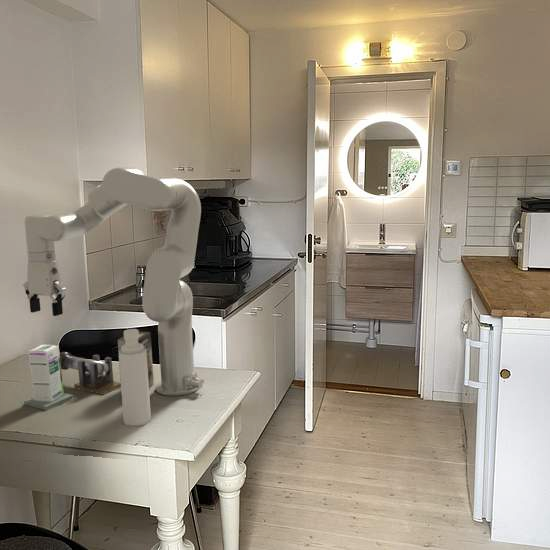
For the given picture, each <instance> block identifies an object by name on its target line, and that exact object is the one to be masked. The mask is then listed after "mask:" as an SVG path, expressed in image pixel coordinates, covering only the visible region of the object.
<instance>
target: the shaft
mask: <svg viewBox="0 0 550 550" xmlns="http://www.w3.org/2000/svg"><path fill="white" fill-rule="evenodd" d="M59 354H60V363H61V370H63V371H64V370H65V371H66V370H69V369H72V370H76V371H78V361H80V360H83V361H85V370H86V373H89V372H90V363H97V371H98V374H99V375H105V374H106V373H107V372H108V369H109V367H108V364H107V363H105V362H102V361H100V362H98V361H93V359H89V358H88V359H87V358H84V357H77V356H74V355H73V354H72V353H70V352H67V351H62V352H59Z"/></svg>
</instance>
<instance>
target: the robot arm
mask: <svg viewBox="0 0 550 550" xmlns="http://www.w3.org/2000/svg"><path fill="white" fill-rule="evenodd" d="M87 199H88V200H87V201H88V202H87V203H86V204H84V205H82V206H81V207H80V208H78V209H76V210H75V211H72V212H68V213H61V214H54V215H53V214H52V215H49V214H31V215H27V216H25V218H24V229H25V243H26V251H27V261H28V262H27V276H26V277H27V281H26V282H24V283H23V285H22V286H23V288H24V292H25V294H26V295H27V299H28V300H29V311H30V313H37V312H40V311H41V300H40V297H39V296H44V297H50V299H51V300H52V302H51V309H52V316H53V317H56V316H57V317H58V316H61V315H63V314H64V313H63V311H64V310H63V302H64V298H65V297H66V293H67V287H66V286H64V285H63V280H62V275H61V274H62V273H61V270H60V267H59V262H58V261H56V249H55V248H56V247H55V242H63V241H67V240H72V239H76V238H77V239H78V238H80V237H83V236H84V235H86V234H88V233H89V232H91V231H93V230H94V229H97V228H98V227H99V226H101V225H102V224H103V223H104V222H105V221H106V220H107V219H108V218H109V217H110V216H112V215H113V214H115V213H116V212H118V211H120V210H121V209H123V208H125V207H127V206H128V205H131V206H134V207H137V208H141V209H144V210H148V211H153V212H162V211H169V210H170V211H171V214H170V218H169V221H168V224H167V227H166V234H165V235H166V236H165V242H164V245H163V246H162V247H159V248H157V249H155V250H154V251H153V252H152V253H151V255H150V257H149V259H148V261H147V264H146V269H145V276H144V283H143V289H142V290H143V291H142V309H143V312H144V314H145V316H146V317H147V318H148V319H150V321H152V322H155V323H157V336H158V350H159V352H158V353H159V354H158V355H159V364H160V365H159V367H160V369H159V370H160V381H159V382H158V383H156V386H155V390H156V392H157V393H159V394H161V395H163V396H164V395H165V396H173V397H174V396H176V397H177V396H185V395H189V394H193V393H194V392H196V391H197V390H199V389H202V388H203V385H204V383H205V379H203V378H198V372H195V364H194V363H195V362H194V346H193V344H194V342H193V307H194V296H193V291H192V288H191V287H190V286H189V285H188V284H187V282H185V281H183V280H181V279H182V278H183V277H185V276H187V275H189V274H190V273H191V272H192V270H193V268H194V265H195V260H196V259H195V258H196V251H197V244H198V237H199V229H200V223H201V216H202V215H201V214H202V204H201V200H200V197H199V195H198V193H197V192H196V190H195V189H194V188H193V186H192V185H191V184H190V183H188V182H186V181H185V180H183V179H181V178H177V177H153V176H148V175H146V174H145V173H144V172H143V171H142V170H140V169H138V168H135V167H114V168H111V169H109V170H108V171H107V172H106V173H105V174H104V175H103V178H102V182H101V184H99V185H98V186H96V187H94V188H93V189H91V190H90V191H89V192H88V195H87Z"/></svg>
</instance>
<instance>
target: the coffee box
mask: <svg viewBox="0 0 550 550" xmlns="http://www.w3.org/2000/svg"><path fill="white" fill-rule="evenodd" d="M151 336H152V335H151V332H149V331H139V338H138V343H140V344H143V346H145V347H146V353H147V367H148V382H149V389H150V388H151V387H153V386H154V384H155V382H154V367H153V354H152V353H153V351H152V337H151ZM125 344H126V343H125V339H124V336H122V337H120V338H119V339H117V348H118V349H117V352H118V354H119V351H118V350H119V349H120V348H121V346H123V345H125ZM118 366H119V367H118V368H119V369H120V365H119V364H118ZM119 380H120V381H119V383H121V379H120V378H119ZM120 394H121V395H122V392H121V391H120Z"/></svg>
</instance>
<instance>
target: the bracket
mask: <svg viewBox="0 0 550 550" xmlns="http://www.w3.org/2000/svg"><path fill="white" fill-rule="evenodd" d="M92 360H93V361H98V362H101V358H100V355H99V354H93V355H92ZM112 361H113V359H112V357H110V356H107V357H105V358H104V363H107V364H108V367H109V369H108V372H107V373H106V374H105V375H99V374H98V371H97V363H90V372H86V370H85V361H83V360H80V361H78V370H77V371H78V382H76V383H74V384H73V387H75V388H74V389H78V388H80V389H79V390H82V389H84V390H83V391H86V390H88V391H87V392H90V391H93V392H92V393H94V392H98V393H102V394H101V395H103V394H104V393H106V394H108V393H110V392H109V391H111V392H112V390H113V391H115V390H117V389H119V388H121V382H120V381H114V372H113V362H112ZM116 388H117V389H116ZM114 389H115V390H114ZM107 392H108V393H107ZM98 393H97V394H98ZM104 395H105V394H104Z"/></svg>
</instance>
